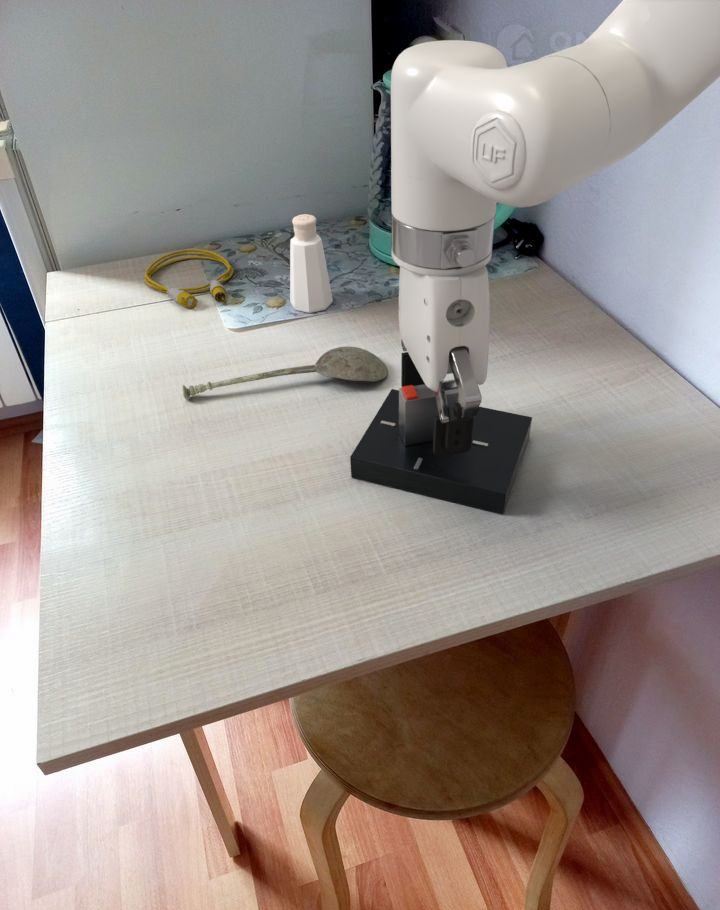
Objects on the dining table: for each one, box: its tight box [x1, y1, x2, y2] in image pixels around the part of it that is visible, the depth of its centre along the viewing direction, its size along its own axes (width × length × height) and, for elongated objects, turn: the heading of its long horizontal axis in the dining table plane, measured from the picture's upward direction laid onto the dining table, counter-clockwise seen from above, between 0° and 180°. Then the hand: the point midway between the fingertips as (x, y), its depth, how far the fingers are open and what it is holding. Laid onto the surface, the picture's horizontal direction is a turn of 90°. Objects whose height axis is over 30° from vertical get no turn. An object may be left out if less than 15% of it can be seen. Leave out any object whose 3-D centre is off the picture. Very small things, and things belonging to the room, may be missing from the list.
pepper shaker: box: [289, 213, 334, 314], centre depth 86 cm, size 5×5×11 cm
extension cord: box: [144, 248, 235, 310], centre depth 94 cm, size 12×16×2 cm
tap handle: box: [398, 379, 459, 446], centre depth 63 cm, size 6×2×5 cm, turn 103°
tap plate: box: [349, 388, 533, 515], centre depth 65 cm, size 14×11×3 cm
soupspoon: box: [181, 346, 389, 402], centre depth 75 cm, size 22×3×7 cm
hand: (434, 417), depth 63 cm, fingers open, 9 cm apart
